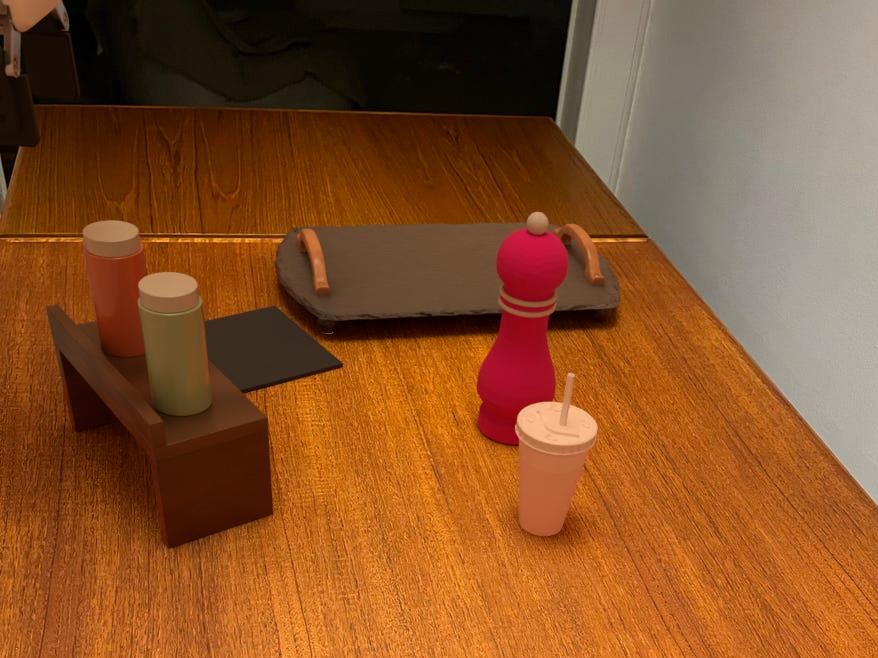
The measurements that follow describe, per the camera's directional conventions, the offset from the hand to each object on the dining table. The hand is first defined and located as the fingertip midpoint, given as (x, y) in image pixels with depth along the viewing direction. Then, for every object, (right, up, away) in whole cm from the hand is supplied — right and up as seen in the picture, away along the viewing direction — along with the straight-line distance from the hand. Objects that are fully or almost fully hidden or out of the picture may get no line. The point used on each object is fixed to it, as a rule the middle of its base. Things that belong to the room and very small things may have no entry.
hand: (36, 119), depth 66 cm
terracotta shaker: (+1, -10, +16) cm, 19 cm away
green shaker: (+7, -16, +10) cm, 20 cm away
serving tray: (+25, +6, +49) cm, 56 cm away
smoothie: (+34, -24, +19) cm, 46 cm away
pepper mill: (+32, -14, +29) cm, 46 cm away
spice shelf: (+3, -20, +19) cm, 27 cm away
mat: (+6, -5, +35) cm, 35 cm away
